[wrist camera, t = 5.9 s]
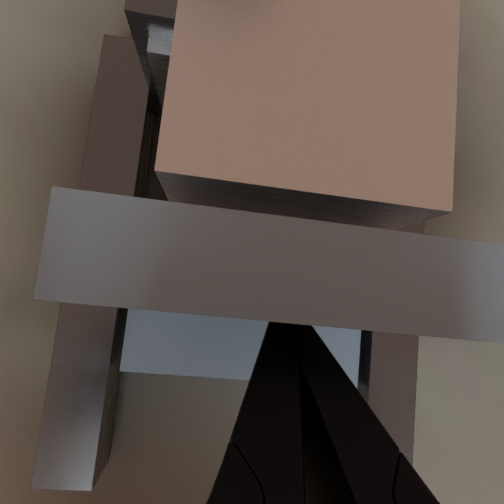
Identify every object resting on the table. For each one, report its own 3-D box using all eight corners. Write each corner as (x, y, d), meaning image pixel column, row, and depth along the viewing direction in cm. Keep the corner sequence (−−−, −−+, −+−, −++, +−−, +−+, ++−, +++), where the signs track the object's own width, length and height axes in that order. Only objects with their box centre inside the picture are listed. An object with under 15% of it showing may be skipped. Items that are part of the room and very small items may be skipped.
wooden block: (315, 252, 16) (452, 211, 7) (186, 237, 15) (154, 170, 6) (324, 149, 16) (460, -9, 8) (199, 130, 16) (187, -70, 7)
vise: (384, 473, 15) (496, 592, 9) (56, 459, 14) (-61, 593, 8) (404, 115, 17) (509, 25, 11) (117, 65, 16) (61, -69, 10)
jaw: (342, 378, 15) (522, 503, 7) (128, 362, 14) (1, 486, 5) (351, 256, 16) (526, 221, 7) (146, 232, 15) (56, 156, 6)
